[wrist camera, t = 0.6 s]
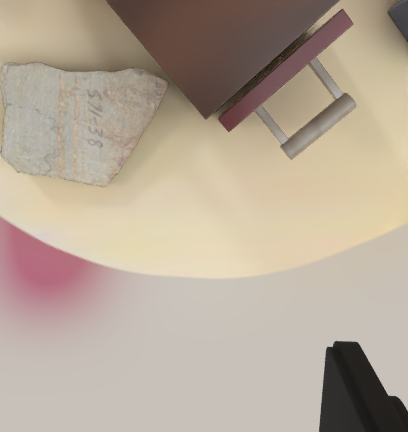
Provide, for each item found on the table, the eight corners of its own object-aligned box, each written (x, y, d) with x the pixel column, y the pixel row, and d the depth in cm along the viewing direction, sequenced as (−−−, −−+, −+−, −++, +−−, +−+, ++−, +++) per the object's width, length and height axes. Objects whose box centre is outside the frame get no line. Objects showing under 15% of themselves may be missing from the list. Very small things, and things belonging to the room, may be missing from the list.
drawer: (360, 89, 33) (397, 84, 26) (263, 169, 35) (272, 185, 28) (218, -104, 29) (216, -169, 22) (121, -2, 32) (91, -32, 25)
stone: (172, 75, 34) (168, 72, 32) (161, 192, 37) (156, 198, 34) (5, 53, 34) (-12, 48, 32) (6, 171, 37) (-9, 176, 35)
